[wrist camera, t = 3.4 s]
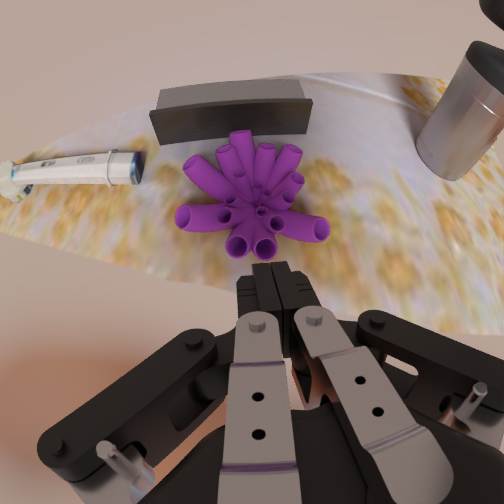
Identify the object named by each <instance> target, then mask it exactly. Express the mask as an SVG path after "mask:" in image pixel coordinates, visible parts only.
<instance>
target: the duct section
mask: <svg viewBox="0 0 504 504" xmlns="http://www.w3.org/2000/svg"><path fill="white" fill-rule="evenodd" d="M312 105H313V102H312V99H305V96H304V94H303V91H302V88H301V86H300V83H299V80H243V81H227V82H216V83H207V84H197V85H190V86H182V87H176V88H170V89H164V90H160V94H159V98H158V103H157V107H156V110H152V111H150V113H149V116H150V119H151V122H152V125H153V127H154V130H155V133H156V136H157V138H158V141H159V144H160V145H166V144H173V143H180V142H188V141H196V140H206V139H216V138H227V137H229V135H230V133H231V132H234V131H239V130H250V131H251V134H252V136H256V135H282V134H306V131H307V127H308V123H309V118H310V114H311V109H312Z"/></svg>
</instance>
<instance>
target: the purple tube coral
mask: <svg viewBox="0 0 504 504" xmlns="http://www.w3.org/2000/svg"><path fill="white" fill-rule="evenodd" d="M229 140H230V144H228V145H224V146H221V147H219V148H218V149H217V150H216V158H217V161H218V164H219V166H220V169H221V171H222V173H221V172H220V171H218V170H217V169H216V168H215V167H213V166H212V165H211V164H210V163H209V162H208V161H206V160H205V159H204V158H203V157H201V156H200V155H198V154H197V155H194V156H192V157H191V158H189V159H188V160H187V161H186V163H185V164H184V165H183V171H184V172H185V174H186V175H187V176H188V177H189V178H190V179H191V180H192V182H194V183H195V184H196V185H197V186H198V187H199V188H200V189H201V190H203V191H204V192H205V193H207V194H208V195H209V196H211V197H213V198H214V199H216V200H217V201H219V202H221V203H219V204H210V205H182V206H180V207H179V208H178V209H177V211H176V214H175V223H176V225H177V227H179V228H180V229H182V230H185V231H190V232H212V231H219V230H223V229H228V228H234V229H233V231H232V232H231V234H230V236H229V237H228V239H227V241H226V246H225V247H226V251H227V253H228V254H229V255H230V256H231V257H233V258H242V257H244V256H246V255H247V254H248V253H249V252H250V251H251V250H252V252H253V253H254V255H255V256H256V257H257V258H258V259H260V260H263V261H268V260H271V259H272V258H274V257H275V255H276V253H277V249H278V247H277V242H276V239H275V237H274V234H276V233H280V234H282V235H284V236H286V237H289V238H292V239H295V240H299V241H304V242H322V241H324V240H326V239H327V238H328V236H329V233H330V226H329V223H328V221H327V220H326V219H325V218H322V217H318V216H311V215H306V214H301V213H298V212H294V211H291V210H289V209H288V208H290V207H291V206H292V204H293V203H294V202H295V194H296V193H297V192H298V191H299V190H300V189H301V188H302V186H303V184H304V177H303V176H302V175H301V174H300V173H298V172H295V170H296V168H297V167H298V165H299V162H300V160H301V157H302V154H303V152H302V150H301V149H299V148H298V147H296V146H294V145H291V144H285V145H284V147H283V148H282V149H281V151H280V153H279V154H278V156H277V158H276V147H275V146H274V145H273V144H269V143H260V144H259V145H258V147H257V151H255V146H254V142H253V138H252V134H251V131H250V130H239V131H234V132H231V133H230V135H229Z"/></svg>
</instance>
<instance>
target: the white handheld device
mask: <svg viewBox="0 0 504 504" xmlns="http://www.w3.org/2000/svg"><path fill="white" fill-rule="evenodd" d="M143 169H144V158H143V154H142V152H118V150H117V149H114V150H110V151H109V152H108V153H97V154H87V155H77V156H69V157H61V158H54V159H47V160H41V161H35V162H29V163H23V164H18V165H17V164H16V163H14V162H13V161H10V160H8V161H5V162H3V163H2V164H0V194H1V195H2V196H3V197H5V198H8V199H10V200H11V201H12V202H13V203H14V202H19V201H20V200H21V199H23V198H26V196H27V195H28V194H29V193H30V191H31V189H32V186H33V184H108V186H109V187H112V186H114V185H116V184H139V183H140V181H141V177H142V173H143Z"/></svg>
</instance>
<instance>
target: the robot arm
mask: <svg viewBox="0 0 504 504" xmlns="http://www.w3.org/2000/svg"><path fill="white" fill-rule="evenodd" d="M479 4H480V7H481V10H482V12H483V13H484V14H485V15H486V16H487V17H488V18H489V19H490V20H491V21H492V22H493V23H494V24H496V25H497V26H498V27H499V28H501V29H502V30H503V31H504V0H479ZM503 128H504V50H503V49H500V48H496V47H494V46H492V45H489V44H487V43H484V42H481V41H474V42H472V43H471V45H470V46H469V48H468V50H467V52H466V55H465V56H464V58H463V60H462V62H461V64H460V65H459V67H458V69H457V71H456V73H455V75H454V77H453V78H452V80H451V82H450V84H449V86H448V87H447V89H446V91H445V92H444V94H443V96H442V98H441V99H440V101H439V103H438V104H437V106H436V108H435V109H434V111H433V113H432V114H431V116H430V118H429V119H428V121H427V122H426V124H425V126H424V127H423V129H422V130H421V132H420V134H419V135H418V137H417V139H416V147H417V150H418V153H419V155H420V157H421V158H422V160H423V161H424V162H425V164H426V165H427V166H428V167H429V168H430V169H431V170H432V171H433V172H435V173H436V174H437V175H439V176H440V177H442V178H444V179H447V180H453V181H455V180H458V179H459V178H460V177H461V176H462V175H463V174H466V173H467V172H468V171H469V170H470V169H471V168H472V167H473V166H474V165H475V164H476V163H477V162H478V160H479V159H480V158H481V157H482V156H483V155H484V154H485V153H486V151H487V150H488V149H489V148H490V147H491V146H492V145H493V143H494V142H495V141H496V140H497V136H498V134H499V133H500V132H501V131H502V130H503ZM236 285H237V302H238V321H237V323H236V326H235V328H234V329H232V330H231V331H229V332H227V333H225V334H223V335H219V336H216V337H214V335H213V334H212V333H211V332H209V331H207V330H204V329H190V330H186V331H184V332H182V333H180V334H179V335H177V336H176V337H175V338H173V339H172V340H171V341H169V342H168V343H167V344H165V345H164V346H163V347H162V348H160V349H159V350H157V351H156V352H155V353H153V354H152V355H151V356H149V357H148V358H147V359H145V360H144V361H143V362H141V363H140V364H139V365H137V366H136V367H134V368H133V369H132V370H131V371H129V372H128V373H126V374H125V375H124V376H122V377H121V378H119V379H118V380H117V381H116V382H114V383H113V384H111V385H110V386H109V387H107V388H106V389H104V390H103V391H102V392H100V393H99V394H97V395H96V396H95V397H93V398H92V399H90V400H89V401H88V402H86V403H85V404H84V405H82V406H81V407H79V408H78V409H76V410H75V411H74V412H72V413H71V414H69V415H68V416H66V417H65V418H64V419H62V420H61V421H59V422H58V423H57V424H55V425H54V426H52V427H51V428H49V429H48V430H46V431H45V432H44V433H43V434H42V435H41V437H40V438H39V441H38V444H37V453H38V456H39V458H40V460H41V461H42V462H43V463H44V464H45V465H46V466H47V467H49V468H50V469H51V470H52V471H54V472H55V473H56V474H57V475H58V476H59V477H60V478H61V479H63V480H64V481H65V482H67V483H68V484H69V485H71V487H72V488H73V489H74V491H75V492H76V493H77V494H78V496H79V497H80V498H81V500H82V501H83V502H84V503H85V504H504V454H503V453H502V452H501V451H499V448H500V445H501V441H502V438H503V434H504V360H502V359H499V358H497V357H494V356H491V355H489V354H487V353H484V352H482V351H479V350H476V349H474V348H472V347H469V346H467V345H465V344H462V343H460V342H457V341H455V340H452V339H450V338H447V337H445V336H442V335H440V334H438V333H435V332H433V331H430V330H428V329H425V328H423V327H421V326H418V325H416V324H413V323H411V322H408V321H406V320H404V319H401V318H399V317H396V316H394V315H391V314H389V313H387V312H384V311H380V310H368V311H365V312H363V313H362V314H360V316H359V318H358V322H355V321H342V320H337V319H336V318H335V316H334V315H333V313H332V312H331V311H330V310H328V309H326V308H324V307H322V306H321V304H320V302H319V300H318V298H317V296H316V294H315V292H314V290H313V288H312V286H311V284H310V281H309V279H308V277H307V276H306V275H304V274H303V273H302V272H300V271H294V272H291V270H290V268H289V266H288V263H287V261H282V262H270V264H269V263H259V264H252V275H249V276H241V277H240V278H239V280H238V281H237V283H236ZM282 354H283V358H291V361H292V376H293V379H294V381H295V384H296V387H297V390H298V393H299V396H300V398H301V401H302V404H303V407H304V410H290V402H289V394H288V385H287V376H286V368H285V362H284V361H283V360H282ZM387 355H390V356H392V357H394V358H396V359H399V360H400V361H403V362H405V363H407V364H409V365H412V366H413V367H415V368H416V369H417V371H418V374H419V375H417V376H415V375H411V374H409V373H407V372H405V371H403V370H400V369H398V368H396V367H394V366H392V365H390V364H388V363H386V362H385V360H386V357H387ZM226 395H228V398H227V411H226V424H225V425H223V426H221V427H219V428H217V429H215V430H214V431H212V432H211V433H209V434H208V435H206V436H205V437H204V438H203V439H202V440H201V441H200V442H199V443H198V444H197V445H196V446H195V447H194V448H193V449H192V450H191V451H190V452H189V453H188V454H187V455H186V456H185V457H184V459H183V460H181V461H180V463H179V464H178V465H177V466H176V467H175V468H174V469H173V470H172V471H171V472H170V473H169V474H168V475H166V476H165V477H164V478H163V479H162V480H161V481H160V482H159V483H158V484H157V485H156V486H155V487H154V488H153V489H152V490H151V491H150V492H149V490H150V489H151V488H152V487H153V485H154V482H155V472H154V470H153V468H154V467H155V466H157V465H158V464H159V463H160V462H161V461H162V460H163V459H164V458H166V456H168V455H169V454H170V453H171V452H172V451H173V450H174V449H175V448H176V447H178V446H179V445H180V444H181V443H182V442H183V441H184V440H185V439H186V438H187V437H188V436H189V435H190V434H191V433H192V432H193V431H194V430H195V429H196V428H197V427H199V426H200V425H201V424H202V422H204V420H206V419H207V418H208V416H210V415H211V414H212V413H213V412H214V411H215V410H216V409H217V408H218V407H219V405H220V404H221V403H222V402H223V401H224V399H225V396H226ZM148 492H149V493H148ZM147 493H148V494H147Z"/></svg>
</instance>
